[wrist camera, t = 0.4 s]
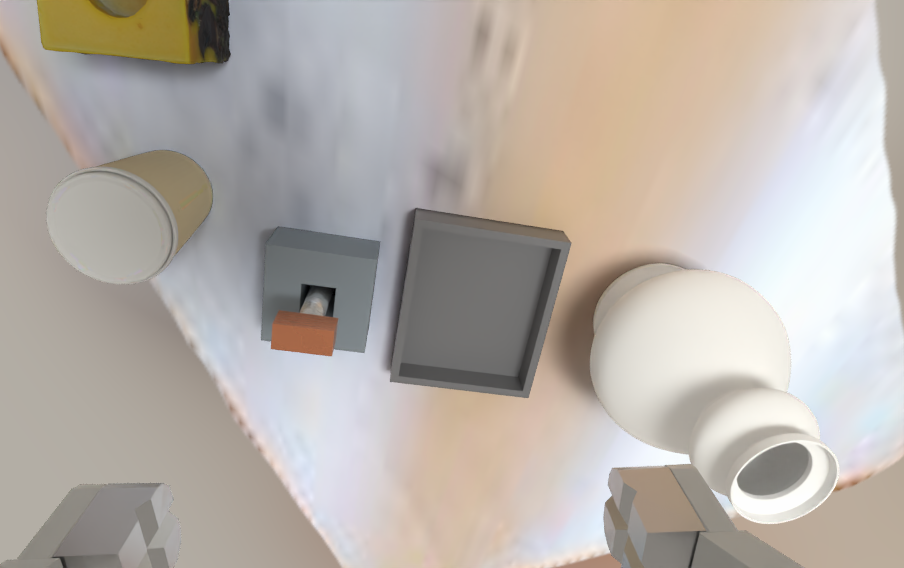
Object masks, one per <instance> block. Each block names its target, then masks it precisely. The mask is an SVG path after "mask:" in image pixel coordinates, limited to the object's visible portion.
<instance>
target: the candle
mask: <svg viewBox="0 0 904 568" xmlns="http://www.w3.org/2000/svg"><path fill="white" fill-rule="evenodd" d="M37 5H38V15H39V24H40V33H41V43H42V45H43V48H44V49H46V50H53V51H62V52H77V53H82V54H102V55H112V56H121V57H130V58H139V59H148V60H159V61H165V62H171V63H178V64H195V63H203V62H215V63H223V61H224V62H226V61H228V59H229V57H230V51H229V37H230V35H229V31H228V22H229V20H228V16H229V15H230V13H229V3H228V0H37Z"/></svg>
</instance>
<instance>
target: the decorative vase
mask: <svg viewBox="0 0 904 568" xmlns="http://www.w3.org/2000/svg"><path fill="white" fill-rule="evenodd" d="M593 329H594V334H595V337H594V340H593V343H592V348H591V354H590V373H591V379H592V383H593V387H594V390H595V392H596V395H597V397H598V399H599V401H600V403H601V404H602V406H603V408H604V409H605V411H606V412H607V413H608V415H609V416H610V417H611V418H612V419H613V421H614V422H615V423H616V424H617V425H618V426H619V427H621V428H622V429H623V430H624V431H626V432H627V433H628V434H630V435H631V436H633V437H634V438H636V439H638V440H640V441H642V442H644V443H646V444H648V445H651V446H653V447H656V448H659V449H663V450H666V451H670V452H675V453H681V454H689V458H690V462H691V464H692V465H693V466H695V467H696V468H697V470H698V471H699V473H700V474H701V476H702V477H703V479H704V480H705V482H706V483H707V485H708V486H709V487H710V488H711V489H713V490H714V491H716V492H718V493H720V494H723V495H726V496H727V497H728V499H729V501H730V502H731V504H732V505H733V507H734V508H735V510H736V511H737V512H738V513H739V514H740V515H741V516H743V517H744V518H746V519H748V520H750V521H753V522H757V523H763V524H776V523H783V522H787V521H791V520H794V519H797V518H799V517H801V516H804V515H806V514H807V513H809V512H811V511H812V510H814V509H815V508H816V507H818V506H819V505H820V504H822V502H824V501H825V500H826V499H827V498H828V496H829V495H830V494H831V492H832V491H833V489H834V488H835V486H836V483H837V481H838V477H839V463H838V460H837V458H836V456H835V455H834V453H833V452H832V451H831V450H830V449H829V448H828V447H827V446H826V445H825V444H824V443H823V442H822V441H820V431H819V426H818V423H817V420H816V418H815V416H814V415H813V413H812V412H811V410H810V409H809V408H808V407H807V406H806V405H805V404H804V403H803V402H802V401H801V400H800V399H798V398H797V397H795V396H793V395H791V394H789V393H787V390H788V386H789V381H790V374H791V351H790V344H789V339H788V336H787V332H786V330H785V327H784V325H783V323H782V321H781V319H780V317H779V315H778V314H777V312H776V311H775V309H774V308H773V307H772V305H771V304H770V303H769V302H768V301H767V300H766V299H765V298H764V297H763V296H762V295H761V294H760V293H759V292H758V291H756V290H755V289H754V288H752V287H751V286H750V285H748V284H746V283H745V282H743V281H741V280H739V279H737V278H735V277H732V276H730V275H727V274H724V273H720V272H716V271H710V270H699V269H690V270H685V269H683V268H681V267H679V266H676V265H672V264H664V263H655V264H648V265H643V266H640V267H637V268H634V269H632V270H630V271H628V272H626V273H624V274H623V275H621V276H620V277H618V278H617V279H616V280H615V281H613V282H612V283H611V284H610V285H609V286H608V288H607V289H606V290H605V291H604V293H603V294H602V296H601V297H600V299H599V301H598V303H597V306H596V308H595V312H594V318H593Z"/></svg>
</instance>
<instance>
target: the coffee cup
mask: <svg viewBox="0 0 904 568" xmlns="http://www.w3.org/2000/svg"><path fill="white" fill-rule="evenodd" d="M212 202H213V192H212V187H211V183H210V181H209V179H208V177H207V175H206V173H205V172H204V170H203V169H202V168H201V167H200V166H199V165H198V164H197V163H196V162H194V161H193V160H192V159H190V158H189V157H187V156H185V155H183V154H180V153H177V152H174V151H168V150H157V151H151V152H147V153H143V154H139V155H135V156H132V157H128V158H124V159H121V160H117V161H114V162H110V163H107V164H103V165H100V166H97V167H90V168H85V169H81V170H78V171H76V172H73V173H71V174H70V175H68V176H67V177H65V178H64V179H63V180H62V181H60V182H59V183H58V185H57V186H56V187H55V189H54V190H53V192H52V194H51V196H50V199H49V202H48V206H47V211H46V223H47V228H48V232H49V235H50V238H51V240H52V242H53V244H54V246H55V248H56V249H57V251H58V252H59V253H60V255H61V256H62V257H63V258H64V259H65V260H66V261H67V262H68V263H69V264H70V265H71V266H73V267H74V268H75V269H77V270H78V271H80V272H81V273H83V274H85V275H86V276H88V277H90V278H93V279H96V280H98V281H102V282H106V283H111V284H136V283H141V282H144V281H147V280H149V279H151V278H153V277H155V276H157V275H158V274H160V273H161V272H162V271H163V270H164V269H165V268H166V267H167V266H168V265H169V263H170V262H171V261H172V259H173V257H174V256H175V254H176V253H177V252H178V251H179V250H180V249H181V248H182V246H183V245H184V244H185V243H186V242H187V240H188V239H189V238H190V237H191V236H192V234H193V233H194V232H195V231H196V230H197V228H198V227H199V226H200V225H201V224H202V222H203V221H204V219H205V218H206V217H207V215H208V214H209V212H210V209H211V207H212Z"/></svg>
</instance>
